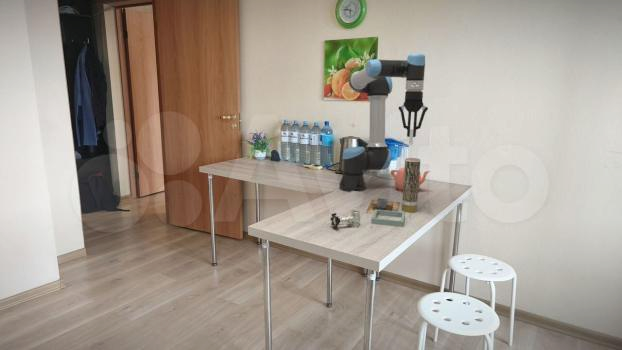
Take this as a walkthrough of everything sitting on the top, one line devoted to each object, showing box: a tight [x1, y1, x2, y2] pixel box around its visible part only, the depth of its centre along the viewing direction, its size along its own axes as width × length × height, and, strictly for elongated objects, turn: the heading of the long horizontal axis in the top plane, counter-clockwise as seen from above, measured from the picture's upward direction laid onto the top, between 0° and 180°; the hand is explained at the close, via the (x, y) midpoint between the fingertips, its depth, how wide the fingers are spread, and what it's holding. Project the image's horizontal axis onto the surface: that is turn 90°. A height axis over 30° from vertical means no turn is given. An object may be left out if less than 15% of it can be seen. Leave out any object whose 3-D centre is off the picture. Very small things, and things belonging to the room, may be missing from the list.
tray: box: [370, 209, 406, 228], centre depth 173 cm, size 13×13×3 cm
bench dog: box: [376, 198, 388, 210], centre depth 183 cm, size 4×3×6 cm
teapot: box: [390, 167, 431, 192], centre depth 224 cm, size 17×16×13 cm
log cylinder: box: [401, 157, 421, 214], centre depth 184 cm, size 7×7×25 cm
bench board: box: [365, 199, 401, 215], centre depth 191 cm, size 14×22×1 cm, turn 164°
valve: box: [330, 209, 361, 229], centre depth 166 cm, size 7×7×12 cm
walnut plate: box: [372, 199, 394, 211], centre depth 189 cm, size 9×7×3 cm
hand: (410, 144), depth 181 cm, fingers closed
